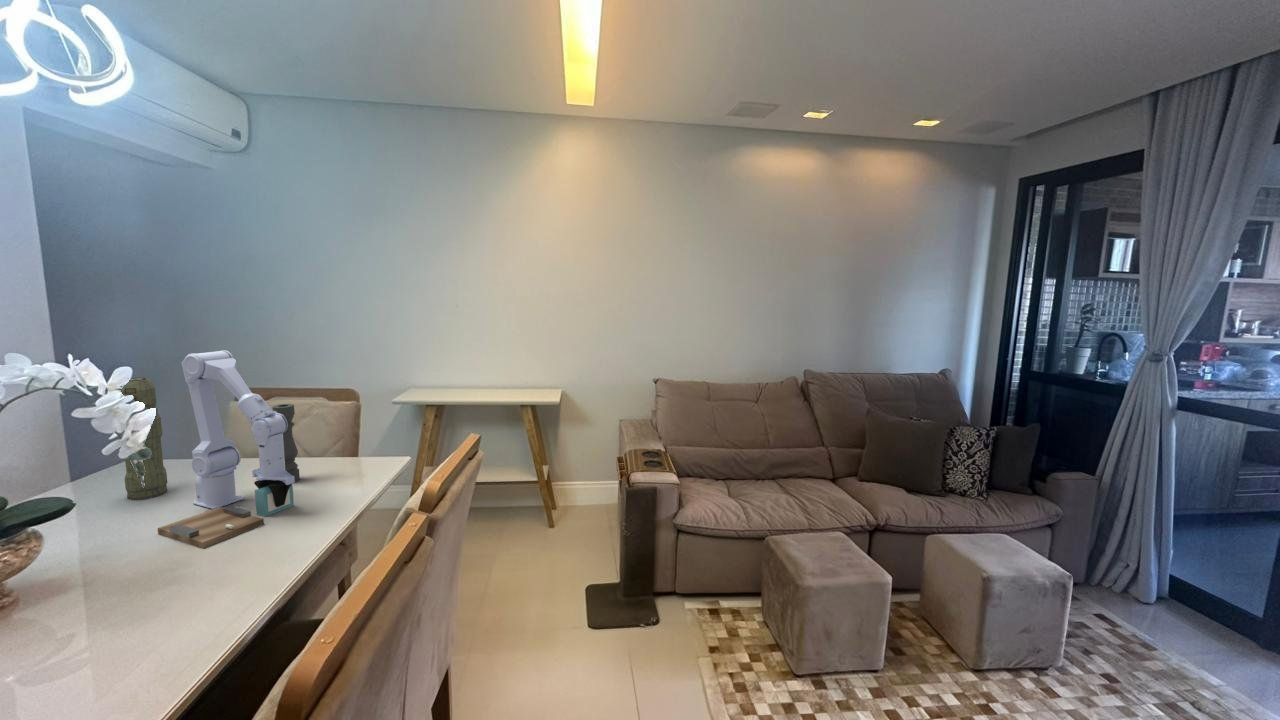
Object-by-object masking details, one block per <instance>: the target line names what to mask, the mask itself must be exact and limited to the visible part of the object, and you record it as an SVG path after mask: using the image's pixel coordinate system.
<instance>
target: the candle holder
mask: <svg viewBox="0 0 1280 720" xmlns="http://www.w3.org/2000/svg"><path fill="white" fill-rule="evenodd" d="M271 409H272V411H276V412H277V413H280V414H282V415H284V416H285V418H286V420H287V423H288V428H287V430H286V431H285V432H284V433H283V442H284V458H285V470H286V471H287V472H288V473H289V474H290V475H292V476H294V479H295V483H297V482H299V481H300V479H301V478H300V476H301V475H300V469H299V468H298V467H299V465H298V464H297V462H295V461H296V457H297V456H298V453H299V450H298V448H297V445H296V443H295V442H296V441H295V438H294V437H293V427H294V426H295V422H293V419H294V417H295V414H296V412H295V404H293V403H281V404H280V403H279V404H274V405H272V408H271Z"/></svg>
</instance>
